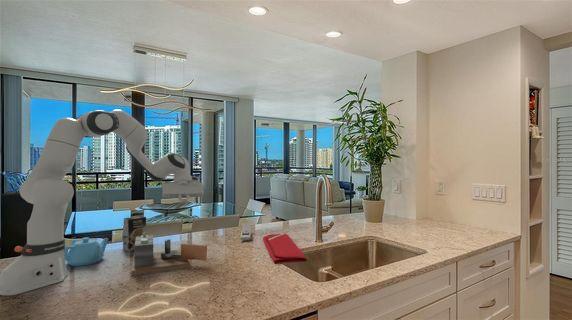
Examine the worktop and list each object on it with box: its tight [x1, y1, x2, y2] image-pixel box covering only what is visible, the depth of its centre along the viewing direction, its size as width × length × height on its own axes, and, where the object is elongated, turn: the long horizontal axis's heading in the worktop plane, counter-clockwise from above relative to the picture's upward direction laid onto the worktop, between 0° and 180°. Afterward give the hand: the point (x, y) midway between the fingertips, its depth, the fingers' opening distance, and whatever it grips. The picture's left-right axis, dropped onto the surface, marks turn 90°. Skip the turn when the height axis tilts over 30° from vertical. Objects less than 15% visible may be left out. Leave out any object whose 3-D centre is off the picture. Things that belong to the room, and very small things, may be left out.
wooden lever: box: [160, 239, 208, 262], centre depth 133 cm, size 7×22×8 cm, turn 77°
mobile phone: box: [240, 222, 252, 242], centre depth 180 cm, size 6×6×25 cm
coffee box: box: [122, 215, 147, 252], centre depth 155 cm, size 9×6×16 cm
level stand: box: [130, 231, 190, 277], centre depth 132 cm, size 22×22×14 cm
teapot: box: [64, 236, 109, 267], centre depth 134 cm, size 15×15×11 cm
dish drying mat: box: [262, 233, 308, 265], centre depth 155 cm, size 16×41×4 cm, turn 12°
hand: (184, 202), depth 149 cm, fingers closed
